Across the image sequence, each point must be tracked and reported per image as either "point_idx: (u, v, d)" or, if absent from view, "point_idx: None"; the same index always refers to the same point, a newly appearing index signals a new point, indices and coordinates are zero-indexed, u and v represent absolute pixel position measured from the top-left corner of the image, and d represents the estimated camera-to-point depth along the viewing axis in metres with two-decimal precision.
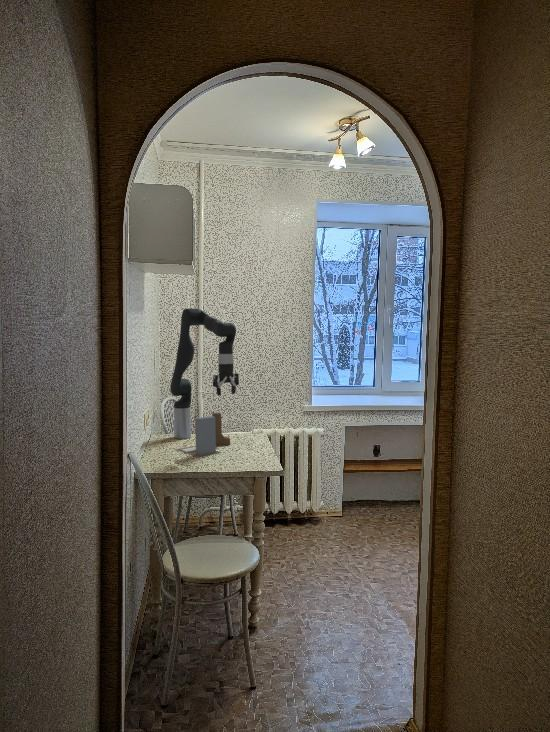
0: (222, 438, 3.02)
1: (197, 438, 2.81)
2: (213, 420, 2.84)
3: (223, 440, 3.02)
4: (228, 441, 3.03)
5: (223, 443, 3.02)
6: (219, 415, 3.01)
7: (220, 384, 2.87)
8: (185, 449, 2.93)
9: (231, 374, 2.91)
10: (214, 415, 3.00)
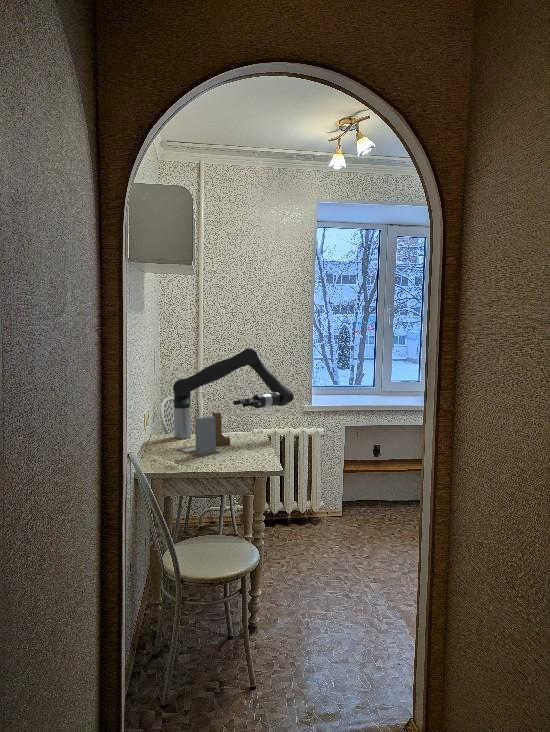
0: (222, 438, 3.02)
1: (197, 438, 2.81)
2: (213, 420, 2.84)
3: (223, 440, 3.02)
4: (228, 441, 3.03)
5: (223, 443, 3.02)
6: (219, 415, 3.01)
7: (251, 406, 3.10)
8: (185, 449, 2.93)
9: None
10: (214, 415, 3.00)
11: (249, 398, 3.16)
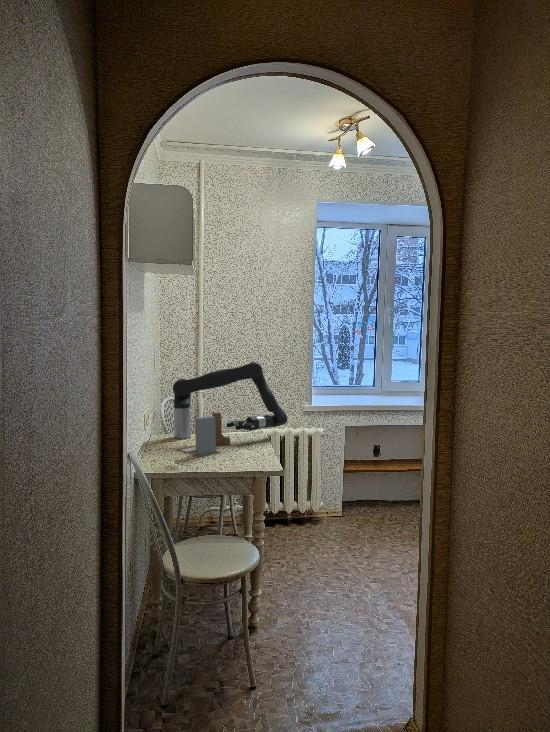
0: (222, 438, 3.02)
1: (197, 438, 2.81)
2: (213, 420, 2.84)
3: (223, 440, 3.02)
4: (228, 441, 3.03)
5: (223, 443, 3.02)
6: (219, 415, 3.01)
7: None
8: (185, 449, 2.93)
9: None
10: (214, 415, 3.00)
11: (242, 420, 3.14)
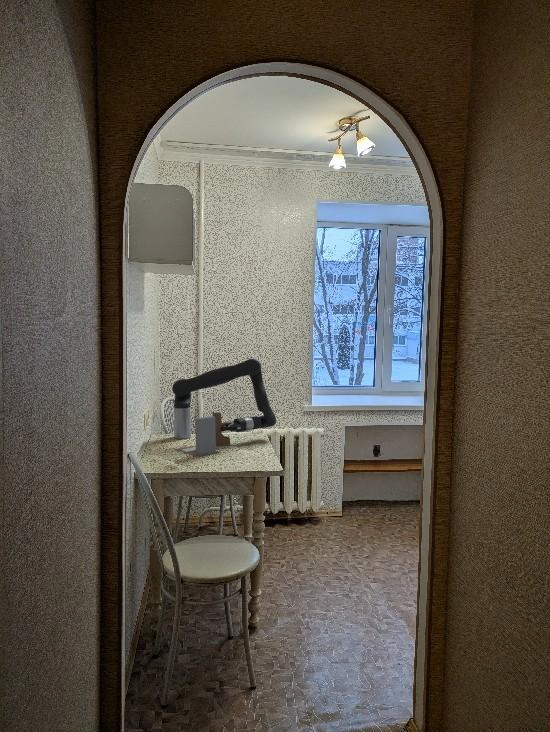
0: (222, 438, 3.02)
1: (197, 438, 2.81)
2: (213, 420, 2.84)
3: (223, 440, 3.02)
4: (228, 441, 3.03)
5: (223, 443, 3.02)
6: (219, 415, 3.00)
7: None
8: (185, 449, 2.93)
9: None
10: (214, 415, 2.99)
11: (230, 422, 3.09)
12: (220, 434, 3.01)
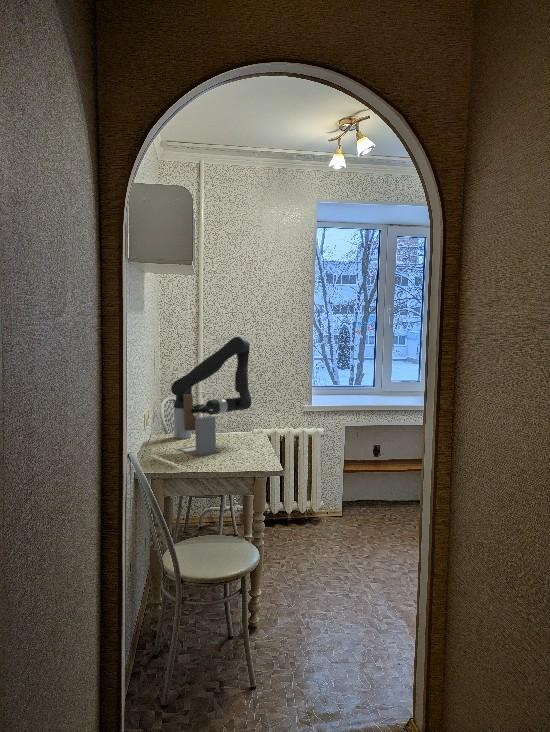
0: (194, 420, 2.90)
1: (197, 438, 2.81)
2: (213, 420, 2.84)
3: None
4: None
5: None
6: (190, 397, 2.88)
7: None
8: (185, 449, 2.93)
9: None
10: (185, 397, 2.87)
11: (202, 404, 2.97)
12: (192, 416, 2.89)
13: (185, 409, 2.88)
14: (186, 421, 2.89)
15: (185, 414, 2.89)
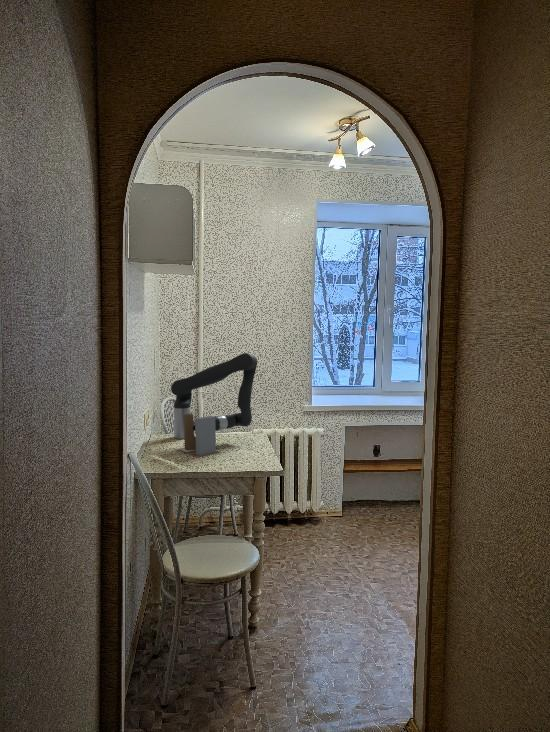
0: (194, 440, 2.91)
1: (197, 438, 2.81)
2: (213, 420, 2.84)
3: None
4: None
5: None
6: (191, 416, 2.90)
7: None
8: None
9: None
10: (186, 416, 2.89)
11: None
12: (192, 436, 2.91)
13: (186, 428, 2.90)
14: (187, 440, 2.90)
15: (186, 433, 2.90)
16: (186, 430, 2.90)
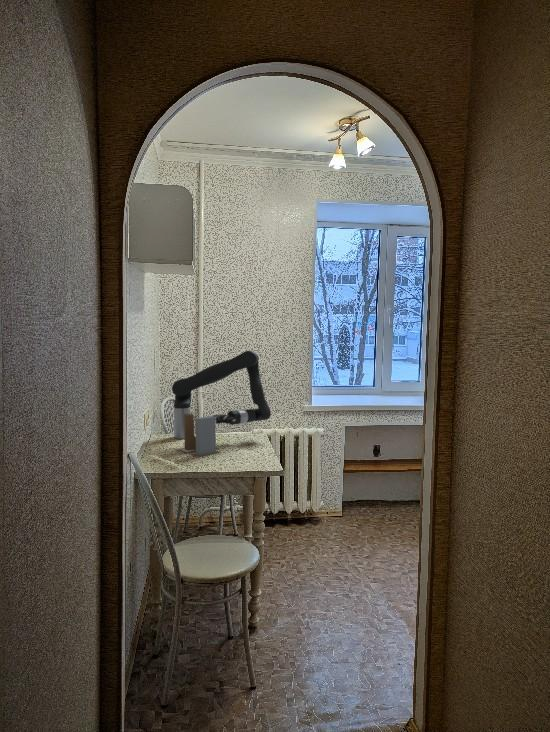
0: (194, 440, 2.91)
1: (197, 438, 2.81)
2: (213, 420, 2.84)
3: None
4: None
5: None
6: (191, 416, 2.90)
7: None
8: None
9: None
10: (186, 416, 2.89)
11: (224, 414, 3.07)
12: (192, 436, 2.91)
13: (186, 428, 2.90)
14: (187, 440, 2.90)
15: (186, 433, 2.90)
16: (186, 430, 2.90)
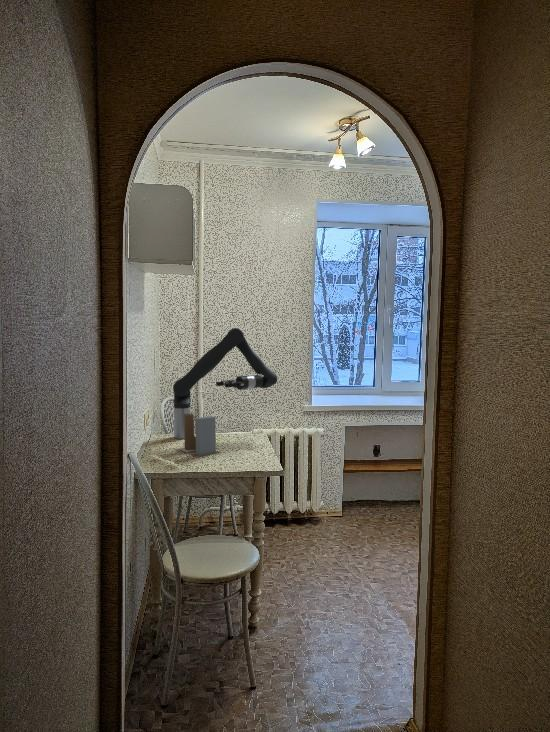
0: (194, 440, 2.91)
1: (197, 438, 2.81)
2: (213, 420, 2.84)
3: None
4: None
5: None
6: (191, 416, 2.90)
7: (234, 386, 3.09)
8: None
9: None
10: (186, 416, 2.89)
11: None
12: (192, 436, 2.91)
13: (186, 428, 2.90)
14: (187, 440, 2.90)
15: (186, 433, 2.90)
16: (186, 430, 2.90)
